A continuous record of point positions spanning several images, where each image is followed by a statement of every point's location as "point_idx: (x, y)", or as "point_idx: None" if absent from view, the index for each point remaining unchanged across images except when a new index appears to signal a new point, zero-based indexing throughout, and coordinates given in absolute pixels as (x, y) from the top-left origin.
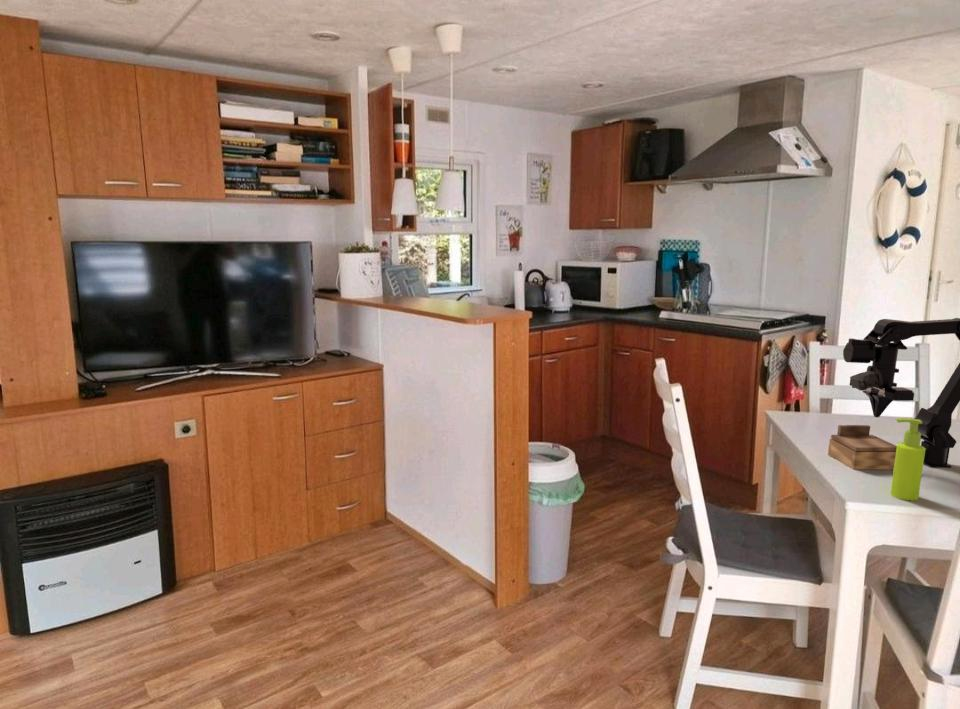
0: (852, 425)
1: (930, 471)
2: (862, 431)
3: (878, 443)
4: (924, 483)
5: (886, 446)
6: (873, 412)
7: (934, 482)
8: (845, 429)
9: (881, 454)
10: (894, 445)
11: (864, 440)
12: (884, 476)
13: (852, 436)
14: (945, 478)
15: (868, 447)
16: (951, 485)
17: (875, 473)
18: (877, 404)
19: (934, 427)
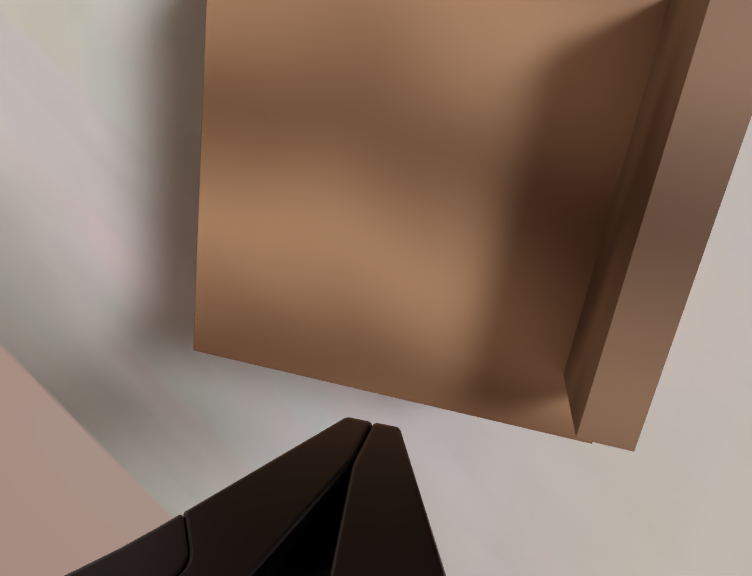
0: (685, 215)
1: (211, 446)
2: (592, 317)
3: (315, 252)
4: (32, 231)
5: (224, 252)
6: (390, 459)
7: (48, 305)
8: (674, 71)
9: None
10: (242, 351)
11: (433, 186)
12: (143, 64)
13: (601, 165)
14: (106, 421)
15: (207, 22)
16: (11, 355)
17: (201, 43)
18: (134, 561)
19: None
